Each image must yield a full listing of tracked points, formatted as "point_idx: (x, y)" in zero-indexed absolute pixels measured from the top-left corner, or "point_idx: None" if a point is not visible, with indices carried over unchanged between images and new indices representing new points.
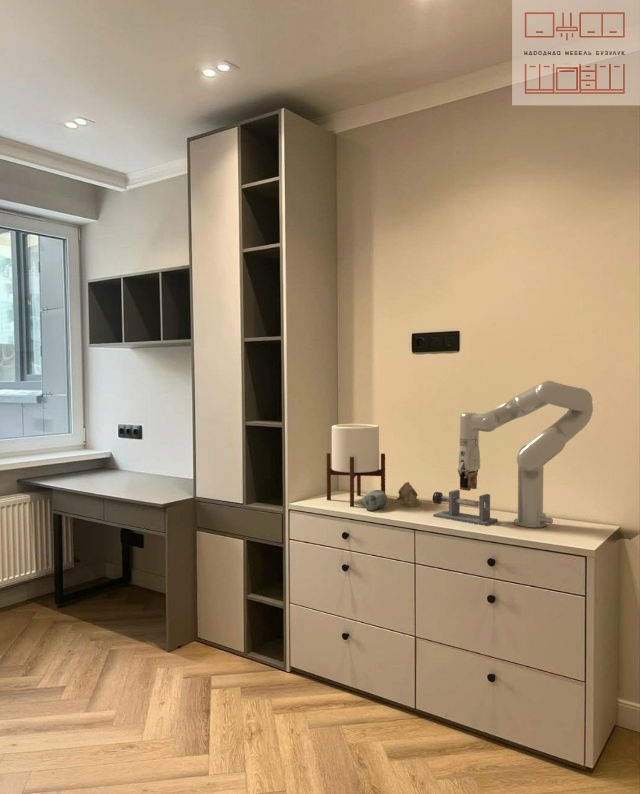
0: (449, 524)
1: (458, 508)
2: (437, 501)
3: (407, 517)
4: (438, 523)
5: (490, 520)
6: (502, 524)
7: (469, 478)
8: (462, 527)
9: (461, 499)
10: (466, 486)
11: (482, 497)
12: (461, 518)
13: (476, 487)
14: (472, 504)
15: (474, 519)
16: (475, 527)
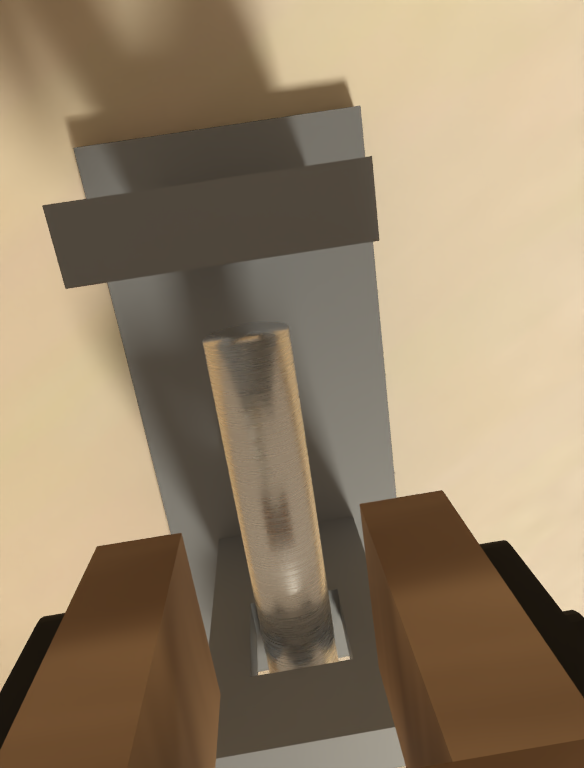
0: (548, 378)
1: (237, 570)
2: None
3: None
4: (578, 458)
5: (206, 151)
6: (152, 12)
7: (539, 738)
8: (571, 226)
9: (306, 570)
10: (516, 569)
11: (369, 163)
12: (366, 406)
13: (100, 561)
14: (297, 385)
15: (304, 299)
16: (487, 137)
